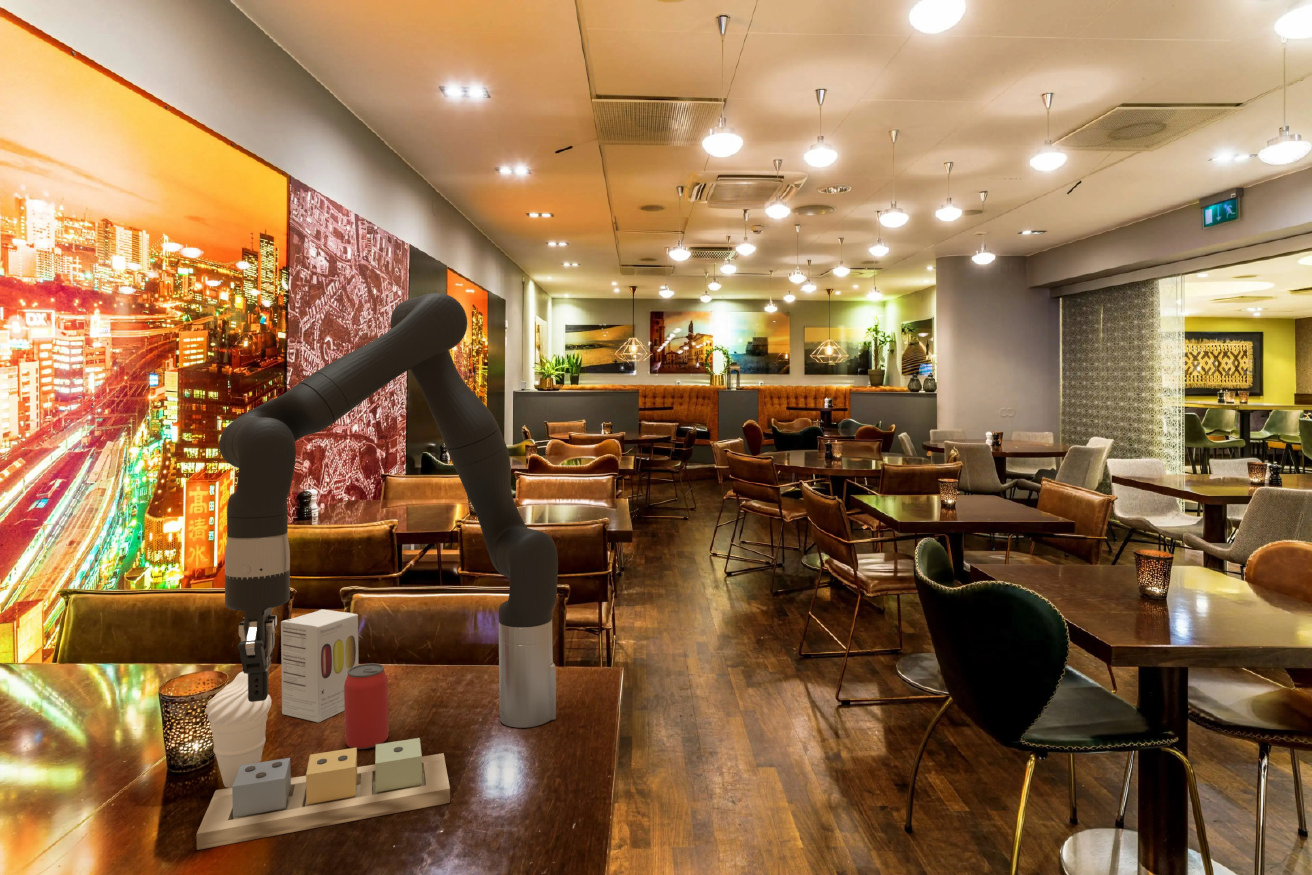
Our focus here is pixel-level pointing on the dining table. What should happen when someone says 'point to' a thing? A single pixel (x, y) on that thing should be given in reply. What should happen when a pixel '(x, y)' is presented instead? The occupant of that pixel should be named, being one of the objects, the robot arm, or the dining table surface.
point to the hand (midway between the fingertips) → (258, 698)
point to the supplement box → (317, 662)
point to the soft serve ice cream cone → (237, 727)
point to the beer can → (366, 706)
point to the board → (322, 806)
